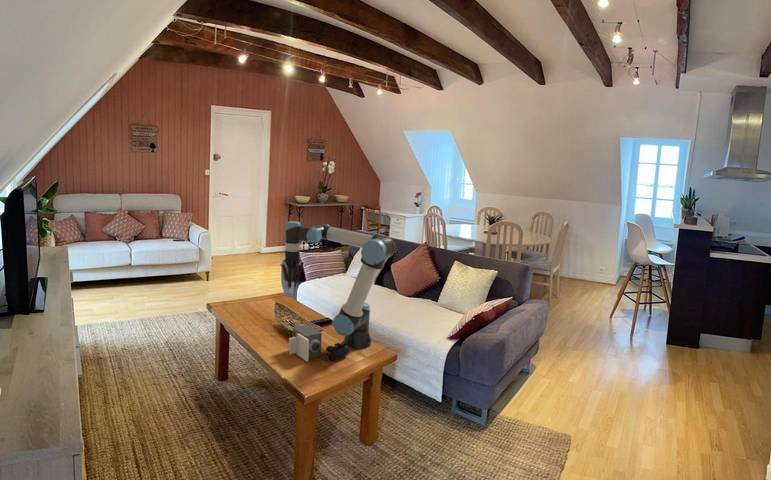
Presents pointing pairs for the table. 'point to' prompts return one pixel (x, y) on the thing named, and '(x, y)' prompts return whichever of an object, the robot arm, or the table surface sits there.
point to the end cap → (337, 351)
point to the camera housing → (310, 338)
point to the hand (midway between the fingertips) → (291, 293)
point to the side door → (299, 346)
